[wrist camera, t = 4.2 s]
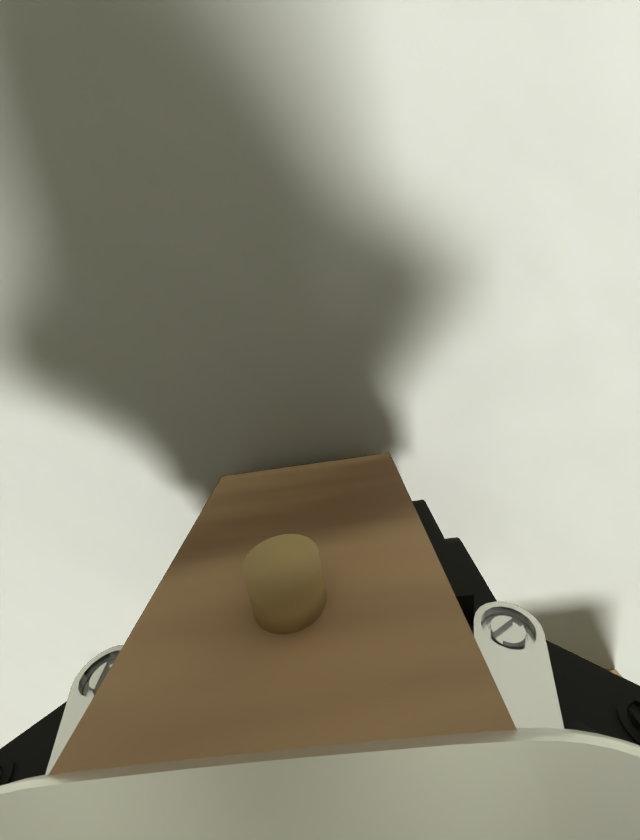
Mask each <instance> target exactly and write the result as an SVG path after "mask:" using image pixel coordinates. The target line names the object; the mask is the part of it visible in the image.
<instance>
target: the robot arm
mask: <svg viewBox="0 0 640 840" xmlns="http://www.w3.org/2000/svg"><path fill="white" fill-rule="evenodd" d="M412 503H413V505H414V507H415V509H416V511H417V514H418V516H419V518H420V520H421V522H422V524H423V527H424V529H425V531H426V533H427V535H428V538H429V540H430V542H431V544H432V546H433V548H434V551H435V553H436V555H437V557H438V559H439V561H440V564H441V566H442V568H443V570H444V572H445V574H446V577H447V579H448V581H449V583H450V585H451V588H452V590H453V592H454V594H455V596H456V598H457V601H458V603H459V605H460V607H461V609H462V611H463V614H464V616H465V618H466V620H467V622H468V624H469V627H470V629H471V631H472V633H473V635H474V638H475V640H476V642H477V644H478V646H479V648H480V651H481V653H482V655H483V657H484V659H485V661H486V664H487V666H488V668H489V670H490V672H491V674H492V677H493V679H494V681H495V683H496V685H497V688H498V690H499V692H500V694H501V696H502V698H503V701H504V703H505V705H506V707H507V709H508V711H509V714H510V716H511V718H512V720H513V722H514V725H515V727H516V729H517V730H500V731H482V732H473V733H459V734H448V735H437V736H426V737H415V738H404V739H393V740H382V741H371V742H359V743H349V744H338V745H328V746H318V747H307V748H297V749H287V750H277V751H267V752H257V753H246V754H236V755H226V756H216V757H206V758H196V759H187V760H177V761H168V762H158V763H149V764H140V765H130V766H121V767H111V768H102V769H92V770H83V771H74V772H68V773H61V774H55V775H49V773H50V771H51V770H52V768H53V766H54V764H55V763H56V761H57V759H58V757H59V756H60V754H61V752H62V751H63V749H64V747H65V745H66V744H67V742H68V740H69V739H70V737H71V735H72V733H73V732H74V730H75V728H76V727H77V725H78V723H79V721H80V720H81V718H82V716H83V714H84V713H85V711H86V709H87V708H88V706H89V704H90V702H91V701H92V699H93V697H94V696H95V694H96V692H97V690H98V689H99V687H100V685H101V684H102V682H103V680H104V678H105V677H106V675H107V673H108V671H109V670H110V668H111V666H112V665H113V663H114V661H115V659H116V658H117V656H118V654H119V653H120V651H121V649H122V647H123V646H124V645H118V646H115V647H112V648H109V649H107V650H105V651H103V652H101V653H100V654H98V655H97V656H96V657H94V658H93V659H91V660H90V661H89V662H88V663H87V664H86V665H85V666H84V667H83V668H82V669H81V671H80V672H79V673H78V675H77V676H76V678H75V680H74V682H73V684H72V686H71V690H70V693H69V696H68V700H67V702H65V703H64V704H62V705H61V706H60V707H58V708H57V709H55V710H54V711H53V712H51V713H50V714H48V715H47V716H46V717H44V718H43V719H41V720H40V721H39V722H37V723H36V724H34V725H33V726H32V727H30V728H29V729H28V730H26V731H25V732H23V733H22V734H21V735H19V736H18V737H16V738H15V739H14V740H12V741H11V742H9V743H8V744H7V745H5V746H4V747H2V748H1V749H0V840H640V686H639V685H637V684H635V683H633V682H631V681H628V680H626V679H624V678H622V677H620V676H618V675H616V674H614V673H612V672H610V671H608V670H606V669H604V668H602V667H600V666H598V665H596V664H594V663H592V662H590V661H588V660H585V659H583V658H581V657H579V656H577V655H575V654H573V653H571V652H569V651H567V650H565V649H563V648H561V647H559V646H557V645H555V644H553V643H551V642H549V641H547V640H546V639H545V634H544V631H543V629H542V626H541V624H540V623H539V622H538V621H537V619H536V618H535V617H534V616H533V615H531V614H530V613H529V612H528V611H526V610H525V609H523V608H521V607H519V606H517V605H514V604H511V603H507V602H497V601H496V599H495V597H494V596H493V594H492V592H491V591H490V589H489V587H488V586H487V584H486V582H485V581H484V579H483V577H482V575H481V574H480V572H479V570H478V569H477V567H476V565H475V564H474V562H473V560H472V559H471V557H470V555H469V554H468V552H467V550H466V548H465V547H464V545H463V543H462V542H461V540H460V539H459V538H457V537H456V538H448V539H444V537H443V535H442V533H441V531H440V529H439V527H438V525H437V523H436V521H435V520H434V518H433V516H432V514H431V512H430V510H429V508H428V506H427V504H426V502H425V501H424V500H418V501H412ZM48 775H49V776H48Z"/></svg>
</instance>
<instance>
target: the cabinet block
mask: <svg viewBox="0 0 640 840" xmlns="http://www.w3.org/2000/svg"><path fill="white" fill-rule="evenodd" d="M500 730H517V729H516V727H515V725H514V722H513V720H512V718H511V716H510V714H509V711H508V709H507V707H506V705H505V703H504V701H503V698H502V696H501V694H500V692H499V690H498V688H497V685H496V683H495V681H494V679H493V677H492V674H491V672H490V670H489V668H488V666H487V664H486V661H485V659H484V657H483V655H482V653H481V651H480V648H479V646H478V644H477V642H476V640H475V638H474V635H473V633H472V631H471V629H470V627H469V624H468V622H467V620H466V618H465V616H464V614H463V611H462V609H461V607H460V605H459V603H458V601H457V598H456V596H455V594H454V592H453V590H452V588H451V585H450V583H449V581H448V579H447V577H446V574H445V572H444V570H443V568H442V566H441V564H440V561H439V559H438V557H437V555H436V553H435V551H434V548H433V546H432V544H431V542H430V540H429V538H428V535H427V533H426V531H425V529H424V527H423V524H422V522H421V520H420V518H419V516H418V514H417V511H416V509H415V507H414V505H413V503H412V501H411V498H410V496H409V494H408V492H407V490H406V487H405V485H404V483H403V481H402V479H401V477H400V474H399V472H398V470H397V468H396V466H395V464H394V461H393V459H392V457H391V455H390V453H385V454H378V455H371V456H364V457H357V458H350V459H343V460H335V461H328V462H321V463H314V464H307V465H300V466H292V467H285V468H278V469H271V470H264V471H257V472H250V473H242V474H235V475H228V476H222V477H221V479H220V481H219V482H218V484H217V486H216V487H215V489H214V491H213V493H212V494H211V496H210V498H209V499H208V501H207V503H206V505H205V506H204V508H203V510H202V512H201V513H200V515H199V517H198V518H197V520H196V522H195V524H194V525H193V527H192V529H191V530H190V532H189V534H188V536H187V537H186V539H185V541H184V542H183V544H182V546H181V548H180V549H179V551H178V553H177V555H176V556H175V558H174V560H173V561H172V563H171V565H170V567H169V568H168V570H167V572H166V573H165V575H164V577H163V579H162V580H161V582H160V584H159V585H158V587H157V589H156V591H155V592H154V594H153V596H152V598H151V599H150V601H149V603H148V604H147V606H146V608H145V610H144V611H143V613H142V615H141V616H140V618H139V620H138V622H137V623H136V625H135V627H134V628H133V630H132V632H131V634H130V635H129V637H128V639H127V641H126V642H125V644H124V646H123V647H122V649H121V651H120V653H119V654H118V656H117V658H116V659H115V661H114V663H113V665H112V666H111V668H110V670H109V671H108V673H107V675H106V677H105V678H104V680H103V682H102V684H101V685H100V687H99V689H98V690H97V692H96V694H95V696H94V697H93V699H92V701H91V702H90V704H89V706H88V708H87V709H86V711H85V713H84V714H83V716H82V718H81V720H80V721H79V723H78V725H77V727H76V728H75V730H74V732H73V733H72V735H71V737H70V739H69V740H68V742H67V744H66V745H65V747H64V749H63V751H62V752H61V754H60V756H59V757H58V759H57V761H56V763H55V764H54V766H53V768H52V770H51V771H50V773H49V775H55V774H61V773H68V772H74V771H83V770H92V769H102V768H111V767H121V766H130V765H140V764H149V763H158V762H168V761H177V760H187V759H196V758H206V757H216V756H226V755H236V754H246V753H257V752H267V751H277V750H287V749H297V748H307V747H318V746H328V745H338V744H349V743H359V742H371V741H382V740H393V739H404V738H415V737H426V736H437V735H448V734H459V733H473V732H482V731H500ZM49 775H48V776H49Z"/></svg>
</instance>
